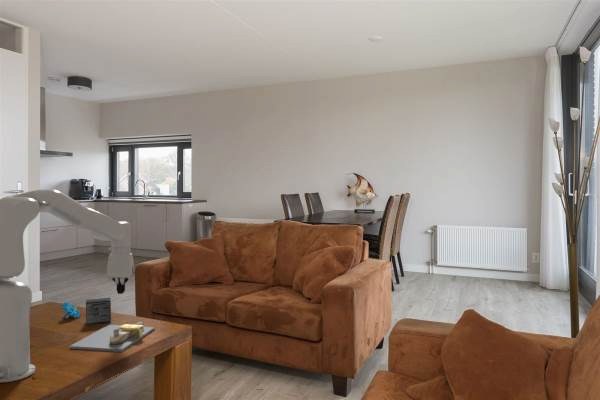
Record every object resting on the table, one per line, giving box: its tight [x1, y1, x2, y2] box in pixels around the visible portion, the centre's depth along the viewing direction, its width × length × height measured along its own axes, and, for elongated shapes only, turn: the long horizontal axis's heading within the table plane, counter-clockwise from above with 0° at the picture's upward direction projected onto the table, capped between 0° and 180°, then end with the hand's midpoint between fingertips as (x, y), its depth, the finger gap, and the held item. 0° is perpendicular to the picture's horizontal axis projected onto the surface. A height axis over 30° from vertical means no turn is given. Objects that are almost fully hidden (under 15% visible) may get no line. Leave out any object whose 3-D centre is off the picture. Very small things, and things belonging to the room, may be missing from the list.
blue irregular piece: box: [61, 301, 81, 319], centre depth 206 cm, size 11×6×10 cm
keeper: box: [119, 323, 145, 338], centre depth 178 cm, size 4×9×4 cm, turn 82°
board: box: [69, 324, 156, 353], centre depth 179 cm, size 26×22×1 cm
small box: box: [85, 297, 112, 326], centre depth 200 cm, size 11×6×10 cm, turn 113°
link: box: [110, 321, 145, 344], centre depth 178 cm, size 20×5×5 cm, turn 168°
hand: (120, 293), depth 183 cm, fingers closed
